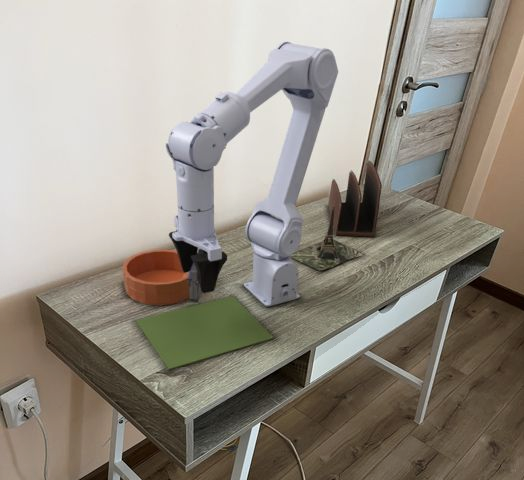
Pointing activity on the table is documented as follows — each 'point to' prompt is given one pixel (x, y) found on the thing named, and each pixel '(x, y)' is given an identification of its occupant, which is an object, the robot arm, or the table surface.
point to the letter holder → (357, 205)
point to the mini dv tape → (194, 283)
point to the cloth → (202, 331)
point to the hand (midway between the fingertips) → (198, 280)
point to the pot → (156, 278)
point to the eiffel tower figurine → (326, 251)
